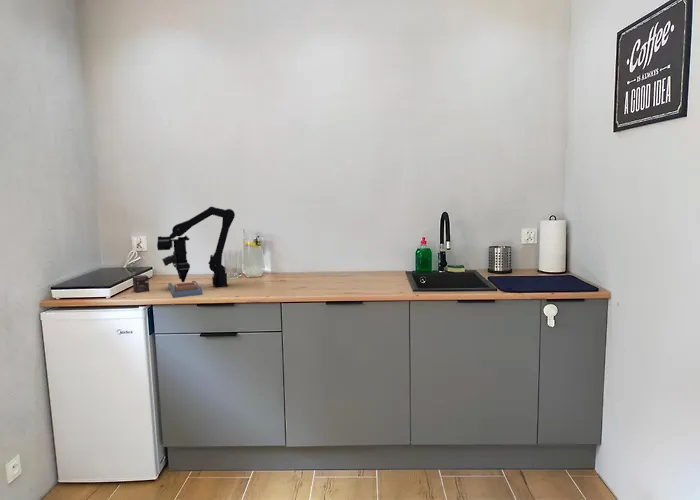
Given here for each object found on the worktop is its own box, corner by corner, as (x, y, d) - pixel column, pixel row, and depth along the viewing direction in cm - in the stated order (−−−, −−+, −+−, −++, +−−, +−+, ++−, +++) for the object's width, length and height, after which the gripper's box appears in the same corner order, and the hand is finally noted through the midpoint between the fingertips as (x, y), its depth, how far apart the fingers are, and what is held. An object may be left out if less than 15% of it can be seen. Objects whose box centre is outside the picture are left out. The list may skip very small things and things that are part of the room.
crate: (194, 290, 250) (194, 282, 249) (197, 293, 243) (196, 285, 242) (175, 292, 246) (174, 283, 245) (177, 295, 239) (176, 286, 238)
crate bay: (195, 285, 262) (194, 280, 262) (202, 294, 241) (202, 289, 241) (168, 288, 256) (167, 283, 256) (173, 297, 236) (173, 292, 235)
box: (136, 292, 247) (135, 277, 246) (133, 290, 251) (132, 276, 250) (149, 291, 250) (148, 276, 249) (146, 289, 255) (145, 274, 254)
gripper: (161, 248, 259) (162, 278, 261) (164, 253, 242) (166, 285, 245) (184, 247, 264) (185, 276, 266) (189, 251, 247) (190, 283, 249)
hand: (181, 280), depth 256 cm, fingers open, 9 cm apart
